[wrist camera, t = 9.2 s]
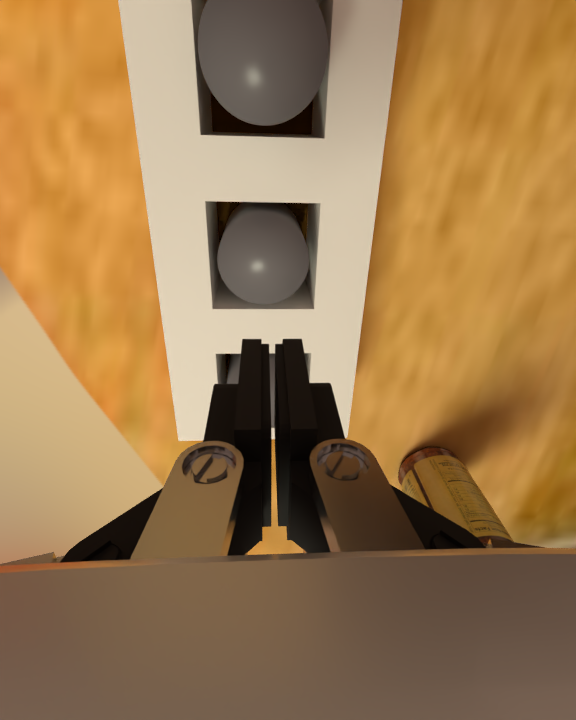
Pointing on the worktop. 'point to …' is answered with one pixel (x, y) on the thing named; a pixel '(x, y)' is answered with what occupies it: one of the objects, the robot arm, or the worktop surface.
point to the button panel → (259, 196)
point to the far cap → (234, 377)
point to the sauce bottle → (450, 492)
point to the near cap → (263, 56)
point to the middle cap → (263, 253)
